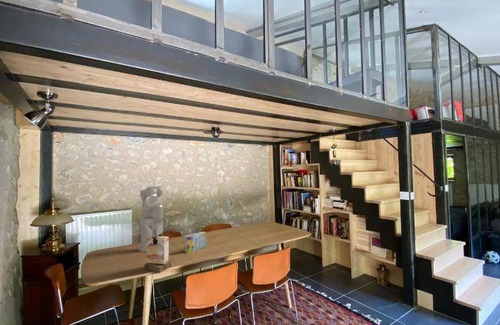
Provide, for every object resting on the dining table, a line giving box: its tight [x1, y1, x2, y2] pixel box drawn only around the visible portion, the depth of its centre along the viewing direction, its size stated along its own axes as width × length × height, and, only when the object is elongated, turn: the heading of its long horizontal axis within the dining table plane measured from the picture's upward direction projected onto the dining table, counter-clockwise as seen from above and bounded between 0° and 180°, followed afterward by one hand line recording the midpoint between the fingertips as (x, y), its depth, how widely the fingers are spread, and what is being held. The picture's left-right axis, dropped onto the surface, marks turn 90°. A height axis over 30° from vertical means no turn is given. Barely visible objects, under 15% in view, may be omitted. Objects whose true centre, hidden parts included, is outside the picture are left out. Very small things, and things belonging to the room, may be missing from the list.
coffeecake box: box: [146, 235, 170, 264], centre depth 189 cm, size 15×7×20 cm, turn 81°
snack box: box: [183, 231, 207, 254], centre depth 230 cm, size 21×6×15 cm, turn 135°
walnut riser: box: [143, 261, 172, 274], centre depth 189 cm, size 12×16×4 cm
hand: (157, 242), depth 189 cm, fingers closed on coffeecake box, 7 cm apart
